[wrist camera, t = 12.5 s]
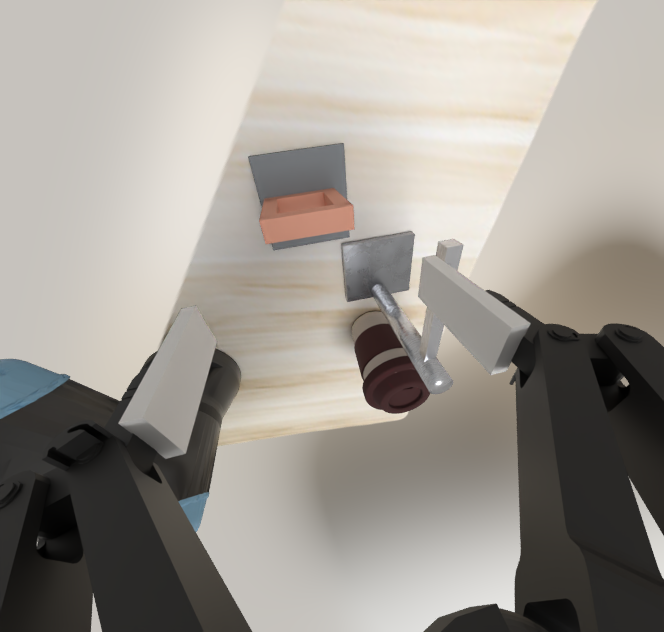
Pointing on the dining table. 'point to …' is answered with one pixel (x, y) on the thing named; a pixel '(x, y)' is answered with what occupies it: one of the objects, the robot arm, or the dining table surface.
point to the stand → (393, 276)
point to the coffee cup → (386, 366)
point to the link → (305, 215)
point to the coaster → (301, 179)
